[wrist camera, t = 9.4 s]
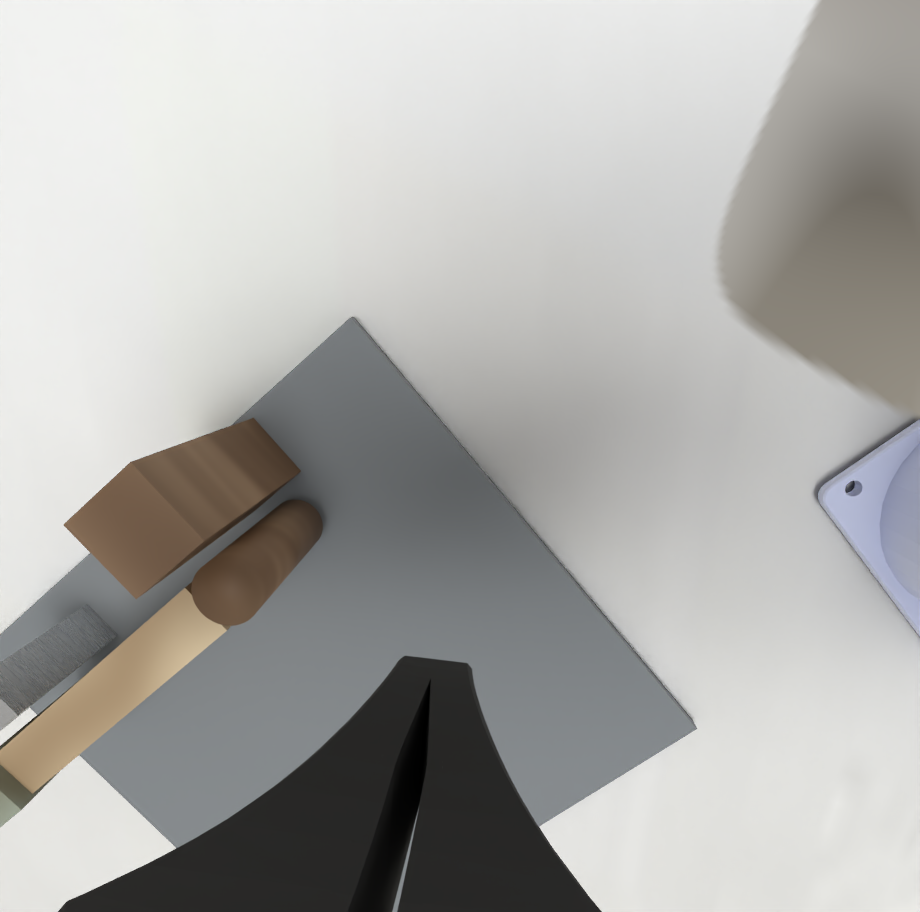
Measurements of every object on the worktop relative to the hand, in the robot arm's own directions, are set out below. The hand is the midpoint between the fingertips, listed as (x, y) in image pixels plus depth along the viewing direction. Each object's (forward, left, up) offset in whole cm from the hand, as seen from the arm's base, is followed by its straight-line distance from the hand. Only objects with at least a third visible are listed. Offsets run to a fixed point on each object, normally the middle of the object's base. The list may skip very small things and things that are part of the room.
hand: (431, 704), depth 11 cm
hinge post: (+4, -6, -9) cm, 12 cm away
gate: (+9, -4, -9) cm, 13 cm away
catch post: (+14, -6, -9) cm, 17 cm away
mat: (+8, +2, -9) cm, 12 cm away
